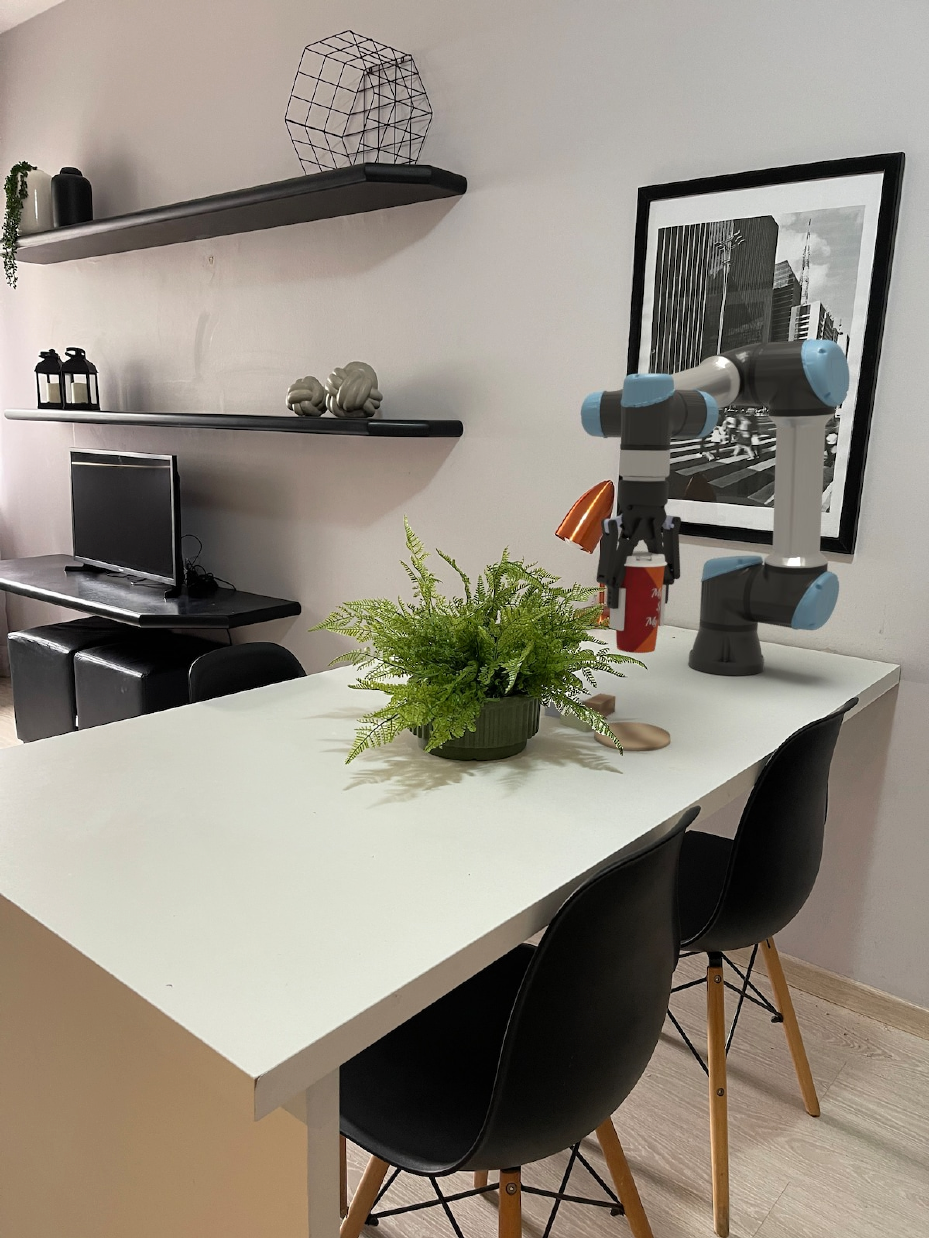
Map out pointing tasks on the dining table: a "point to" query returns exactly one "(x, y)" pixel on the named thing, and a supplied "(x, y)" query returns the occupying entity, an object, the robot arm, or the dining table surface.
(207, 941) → the dining table surface
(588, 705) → the walnut block
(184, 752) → the dining table surface
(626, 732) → the disc
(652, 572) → the coffee cup
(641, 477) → the robot arm
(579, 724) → the olive block
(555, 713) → the slate block
